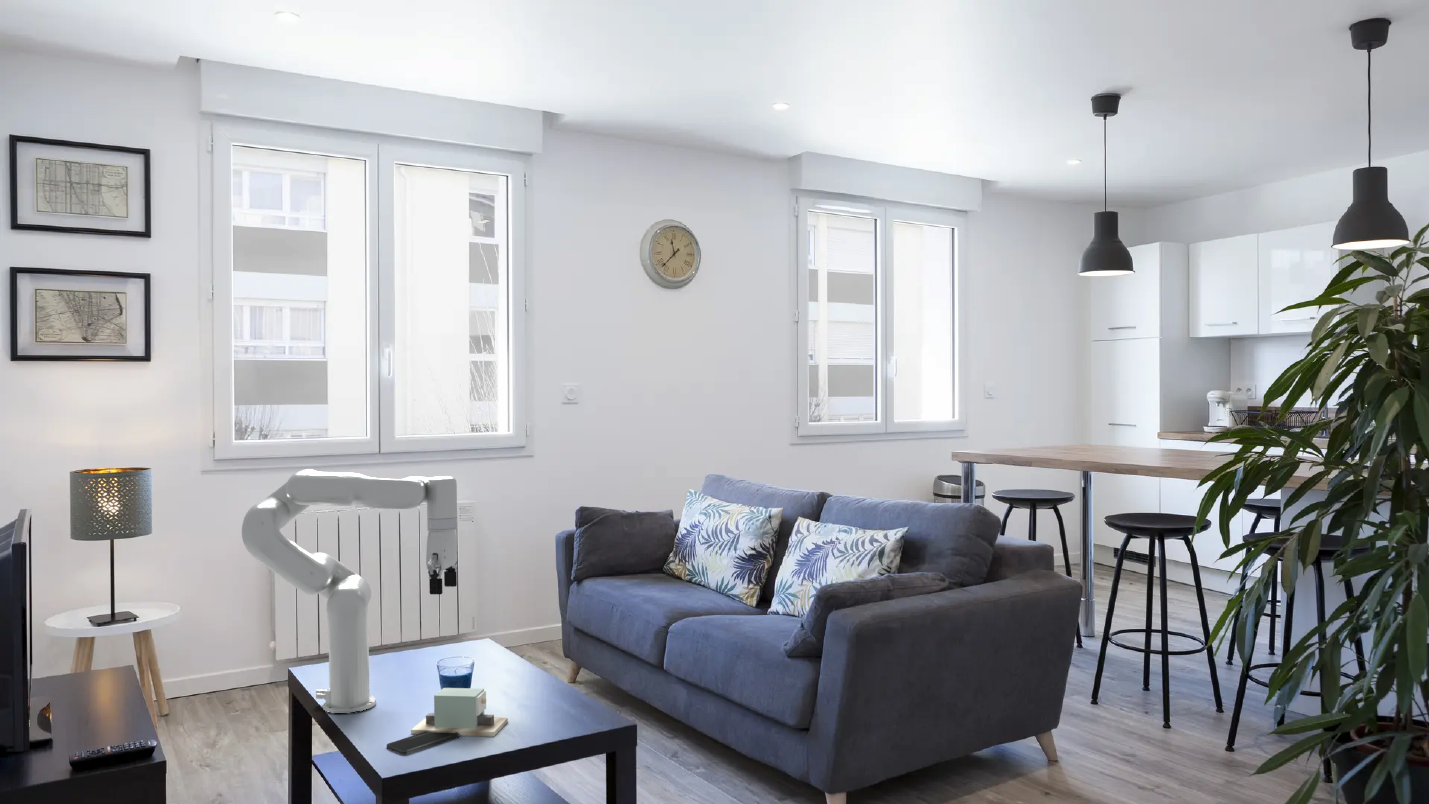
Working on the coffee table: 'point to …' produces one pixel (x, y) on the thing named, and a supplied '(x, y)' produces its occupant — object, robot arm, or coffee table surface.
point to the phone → (421, 742)
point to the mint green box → (458, 707)
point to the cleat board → (486, 727)
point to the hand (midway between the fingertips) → (443, 590)
